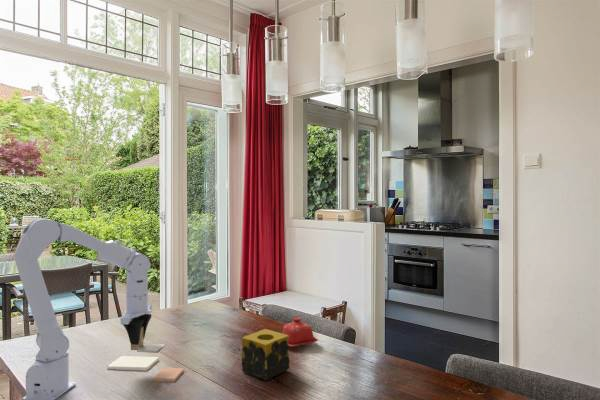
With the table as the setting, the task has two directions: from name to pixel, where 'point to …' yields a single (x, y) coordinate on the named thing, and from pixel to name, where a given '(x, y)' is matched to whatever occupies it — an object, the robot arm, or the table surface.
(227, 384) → the table surface
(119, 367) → the trivet
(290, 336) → the butter dish
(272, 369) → the candle
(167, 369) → the tile
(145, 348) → the grey plate tan block
